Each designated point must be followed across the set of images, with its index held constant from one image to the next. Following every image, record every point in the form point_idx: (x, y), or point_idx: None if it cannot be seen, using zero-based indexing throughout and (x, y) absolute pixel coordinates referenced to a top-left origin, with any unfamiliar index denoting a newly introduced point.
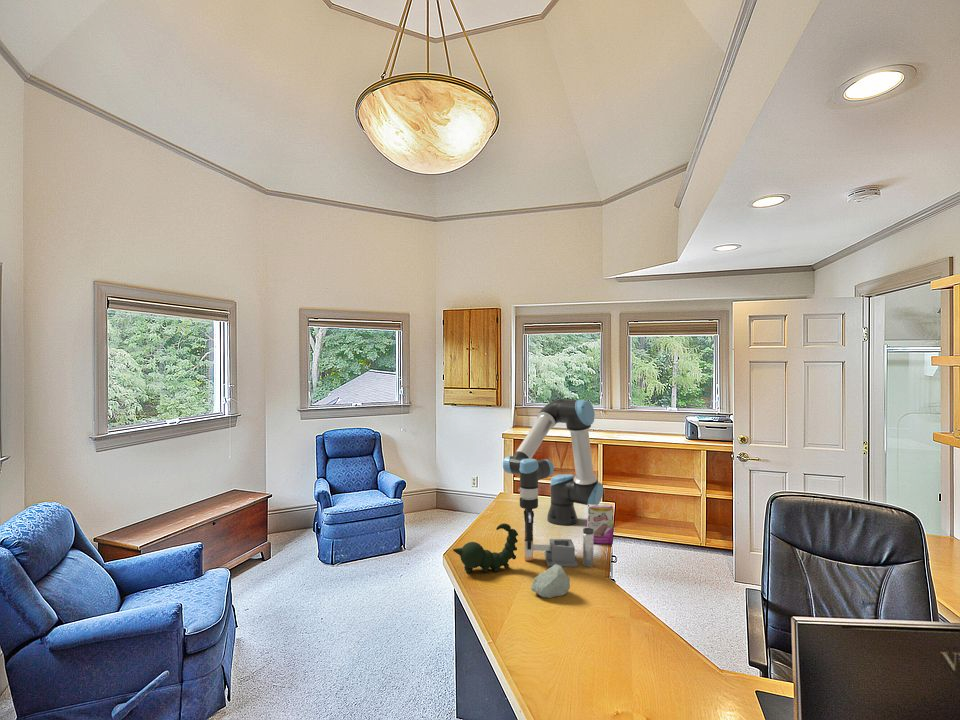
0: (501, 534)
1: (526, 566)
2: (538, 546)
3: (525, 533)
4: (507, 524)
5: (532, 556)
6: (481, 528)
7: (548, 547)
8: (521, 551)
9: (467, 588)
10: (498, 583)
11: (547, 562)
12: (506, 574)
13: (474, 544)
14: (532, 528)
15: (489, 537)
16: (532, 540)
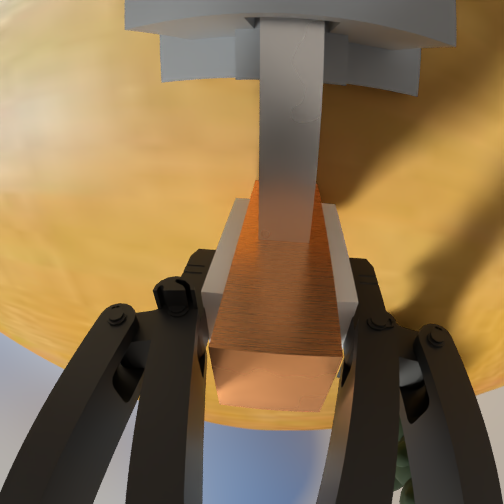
0: (11, 291)
1: (394, 236)
2: (315, 181)
3: (273, 407)
4: None
5: (335, 206)
6: (11, 332)
7: (320, 55)
8: (145, 236)
9: None
10: (491, 344)
11: (399, 90)
12: (446, 326)
13: (398, 488)
14: (495, 484)
15: (53, 332)
16: (450, 338)
